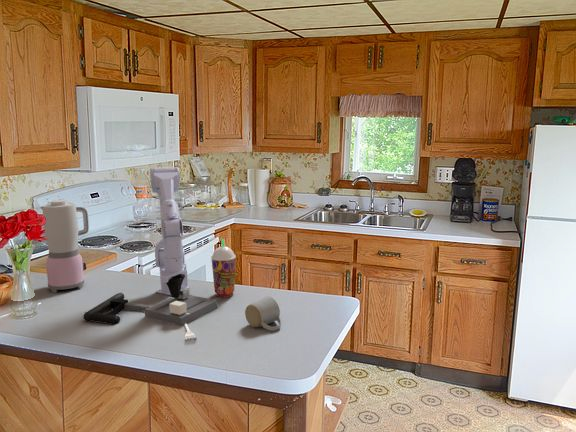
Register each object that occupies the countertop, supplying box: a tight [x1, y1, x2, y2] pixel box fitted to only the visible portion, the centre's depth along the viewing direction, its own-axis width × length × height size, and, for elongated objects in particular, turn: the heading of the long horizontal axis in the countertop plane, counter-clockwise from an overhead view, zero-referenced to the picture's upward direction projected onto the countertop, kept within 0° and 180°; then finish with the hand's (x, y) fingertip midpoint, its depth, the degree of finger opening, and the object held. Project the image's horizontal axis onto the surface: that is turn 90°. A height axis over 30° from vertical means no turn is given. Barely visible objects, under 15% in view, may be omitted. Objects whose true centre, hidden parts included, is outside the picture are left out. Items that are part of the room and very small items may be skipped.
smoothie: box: [210, 238, 237, 298], centre depth 178 cm, size 8×8×20 cm
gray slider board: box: [144, 294, 218, 327], centre depth 164 cm, size 17×15×3 cm
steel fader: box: [178, 287, 190, 299], centre depth 169 cm, size 3×4×3 cm
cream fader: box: [169, 301, 187, 315], centre depth 156 cm, size 3×4×3 cm
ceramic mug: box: [244, 296, 282, 332], centre depth 153 cm, size 11×8×8 cm
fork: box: [184, 323, 197, 341], centre depth 151 cm, size 3×20×2 cm, turn 19°
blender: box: [39, 199, 89, 293], centre depth 187 cm, size 16×12×32 cm
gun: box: [82, 292, 150, 325], centre depth 165 cm, size 3×20×16 cm
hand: (175, 297), depth 167 cm, fingers closed
